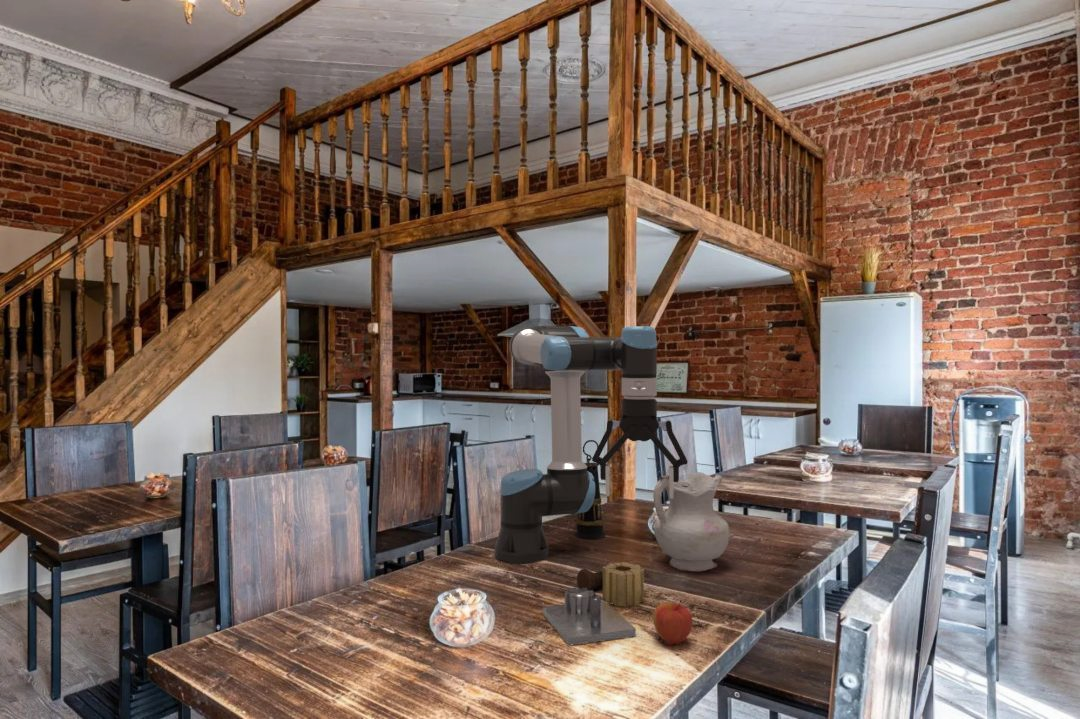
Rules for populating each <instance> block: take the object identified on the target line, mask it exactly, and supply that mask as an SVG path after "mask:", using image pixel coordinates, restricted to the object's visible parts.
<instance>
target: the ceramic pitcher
mask: <svg viewBox="0 0 1080 719" xmlns="http://www.w3.org/2000/svg"><path fill="white" fill-rule="evenodd" d="M723 477H724V476H723V475H720V474H717V473H716V474H715V476H714V477H712V476H711V475H709V474H706V473H704V472H701V471H698V472H694V473H691V474H690V475H689V476H688V477H687V478H686V479H685V480H681V479H679V481H678V482H673V499H672V498H670V496H669V475H668V474H666V475H665V474H663V475H661V476H660V477H659V480H658V482H657V483H656V484H655V485H654V489H653V495H652V496H653V503H654V504H653V506H654V509H655V512H656V515H657V519H656V520H655V522H654V527H653V528H654V529H653V530H654V537H655V539H656V542H657V543H658V545H659V547H660V548H661V549H662V551H663V552H664V553H665V555H667V556H669V557H671V559H670V561H669V566H671V567H673V568H676V569H677V570H680V571H688V572H698V573H700V572H704V571H707V570H712V569H714V568H717V566H718V563H717V562H715V561H714V562H713V560H714V559H718V558H720V556H721V555H723V554H724V553H725V550H726V549H727V546H728V544H729V541H730V527H729V523H728V522H727V521H726V520H725V519H724V518H723V517H722V516H720V514H718V513H717V512H716V511H715V509H714V498H715V495H716V493H717V490H718V487H719V485H720V484H721V483H722V481H723ZM664 490H665V491H666V493H667V495H668V499H669V506H668V508H667V509H666V511H665V510H664V507H663V504H662V500H663V499H662V496H663V491H664Z"/></svg>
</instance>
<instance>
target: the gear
mask: <svg viewBox="0 0 1080 719" xmlns="http://www.w3.org/2000/svg"><path fill="white" fill-rule="evenodd" d="M602 571H603V585H602V599H603V598H605V599H606V600H605V599H604V600H605V602H607V603H609V605H611V604H610V603H613V604H616V605H615V606H617V605H619V606H624V607H629V606H628V605H634V606H633V607H638V606H639V605H640V604H641V603H644V600H645V580H644V579H645V569H644V568H641V565H640V564H633V563H629V562H625V561H623V562H617V563H616V562H615V563H614V562H609V563H608V564H607V565H606V566H602ZM613 604H612V605H613ZM626 605H627V606H626ZM637 605H638V606H637ZM619 606H618V607H619Z"/></svg>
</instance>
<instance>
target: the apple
mask: <svg viewBox="0 0 1080 719" xmlns="http://www.w3.org/2000/svg"><path fill="white" fill-rule="evenodd" d="M681 603H682V600H681V599H680V600H679V603H676V602H664V603H660V604H659V605H657V606H656V607H655V609H654V612H653V617H652V619H653V625H654V628H655V632H656V633H657V634H658V636H659V637H660V638H661V639H662V640H664V641H665V642H667V643H668V644H670V645H672V644H675V645H677V644H678V645H679V644H680V643H682V642H683V641H685V640H686V639H687V638H688V637H689V635H690V633H691V630H692V627H693V616H692V613H691V612H690V611H691V610H689V609H688V608H687V607H685V606H684V605H682V604H681Z"/></svg>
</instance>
